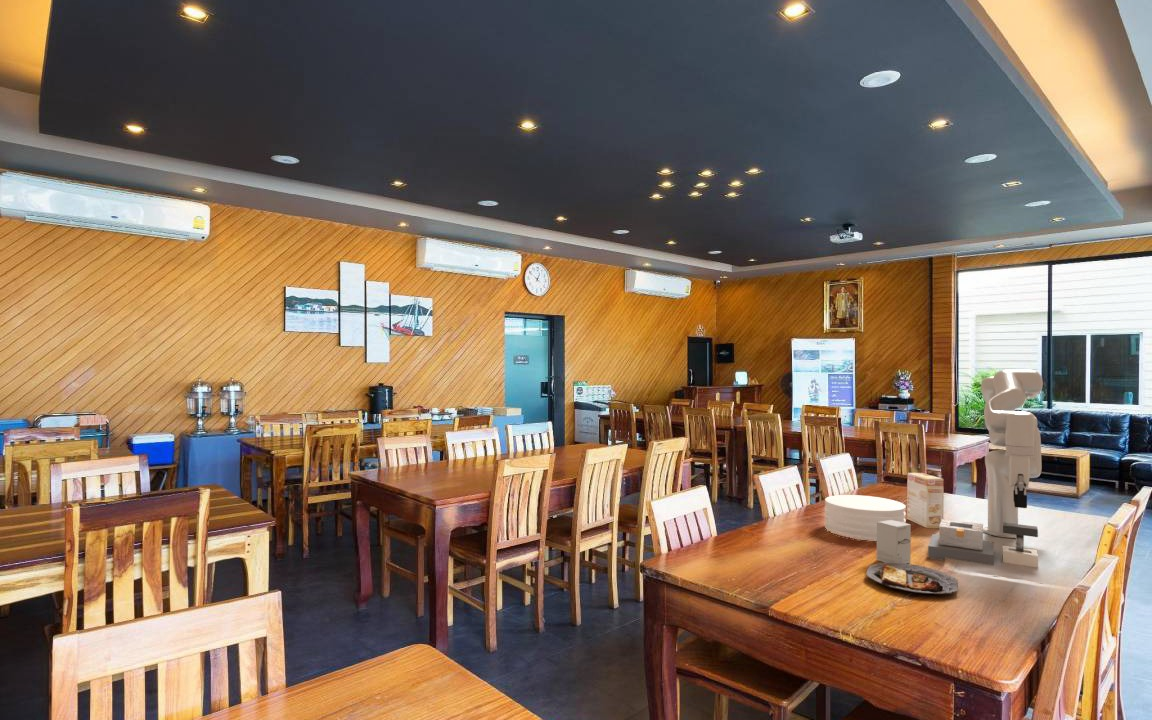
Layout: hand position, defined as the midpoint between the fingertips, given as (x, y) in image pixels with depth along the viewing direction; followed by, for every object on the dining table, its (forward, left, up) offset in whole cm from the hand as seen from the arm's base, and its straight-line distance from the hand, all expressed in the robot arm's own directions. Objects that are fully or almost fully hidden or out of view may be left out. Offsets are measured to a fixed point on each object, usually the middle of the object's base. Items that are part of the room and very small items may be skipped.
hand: (1020, 505), depth 199 cm
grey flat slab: (0, -16, -19) cm, 25 cm away
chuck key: (0, 0, -18) cm, 18 cm away
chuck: (+1, -16, -15) cm, 22 cm away
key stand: (0, 0, -19) cm, 19 cm away
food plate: (+40, -27, -20) cm, 52 cm away
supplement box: (+20, -34, -19) cm, 44 cm away
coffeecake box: (-43, -30, -19) cm, 56 cm away
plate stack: (-16, -48, -20) cm, 54 cm away
